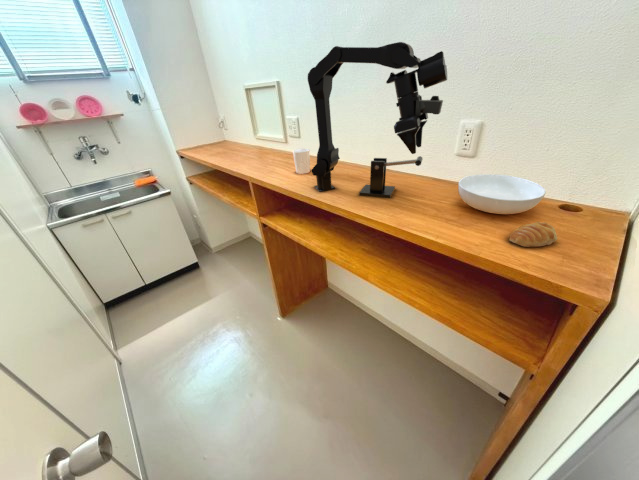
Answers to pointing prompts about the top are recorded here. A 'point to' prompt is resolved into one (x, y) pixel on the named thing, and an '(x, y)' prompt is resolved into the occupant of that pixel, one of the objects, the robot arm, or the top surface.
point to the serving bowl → (500, 193)
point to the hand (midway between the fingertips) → (416, 150)
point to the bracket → (377, 181)
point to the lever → (405, 162)
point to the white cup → (302, 160)
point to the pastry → (534, 235)
